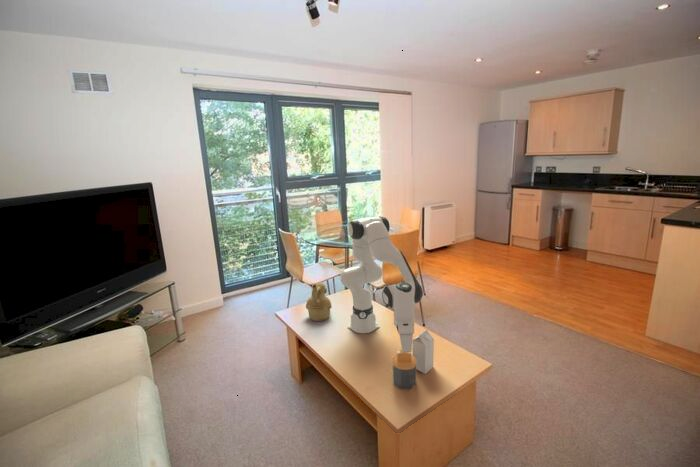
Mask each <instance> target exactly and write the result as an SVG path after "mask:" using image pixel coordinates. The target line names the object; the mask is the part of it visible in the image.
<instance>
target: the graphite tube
mask: <svg viewBox="0 0 700 467" xmlns="http://www.w3.org/2000/svg"><path fill="white" fill-rule="evenodd" d="M392 380H393V385H394V386H395V387H397V388H398V389H400V390H412V388H413V387H415V386H416V385H417V370H416V366H415V367H414V368H413V369H410V370H401V369H398V368H396V367H394V366H393V365H392Z"/></svg>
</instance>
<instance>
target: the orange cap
mask: <svg viewBox="0 0 700 467" xmlns="http://www.w3.org/2000/svg"><path fill="white" fill-rule="evenodd" d="M391 364H392V367H393V366H394V367H396V368H398V369H401V370H410V369H413V368H414V367H415V366H416V365H417V360H416V358H415V357H414V356H413V354H412V351H411V352H403V351H402V349H401V350H396V353H395V354H394V355H392V357H391Z"/></svg>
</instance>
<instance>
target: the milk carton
mask: <svg viewBox="0 0 700 467" xmlns="http://www.w3.org/2000/svg"><path fill="white" fill-rule="evenodd" d="M434 343H435V340H434V337H433V336H432V334H430V332H429V331H428V328H426V329H425V330H423V331H422V332H421V333H420V334H419V333H418V335H417V336H416V337H414V338H413V339H412V355H413V356H414V357H415V358H416V360H417V365H416V371H419V372H421V373H423V374H424V375H425V374H428V372H429V371H431V370H432V369H433V368H434V351H435V350H434V347H435V344H434Z"/></svg>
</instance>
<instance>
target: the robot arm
mask: <svg viewBox="0 0 700 467" xmlns="http://www.w3.org/2000/svg"><path fill="white" fill-rule="evenodd" d="M390 228H391V227H390V222H389V220H388V218H387V217H384V216H368V217H363V218H356V219H352V220H350V222H348V227H347V231H348V232H347V233H348V235H349V237H350V238H351V239H352V257H353V259H354V261H356V262H359V263H360V265H356V266H351V267H348V268H345V269H343V270H341V272H340V276H339V280H340V282H341V284H342V285H343V286H344V287H345V288H347V289H348V290H349V291H350V292H351V296H352V302H353V303H352V304H353V305H352V312H351V313H350V321H349V323H348V325H347V329H349V330H351V331H352V332H355V333H358V334H368V333H372V332H374V331H375V330H376V329H379V328H380V325H379V322H378V321H377V318H376V314H375V312H374V306H373V299H372V298H373V294H372V292H371V290H369V289H367V288H364V285H367V284H371V283H375V282H377V281H379V280H381V279H382V276H383V269H382V267H381V266H380V264H378V263H376V262H375V260H377V261H380V262H382V263H388V264H391V265H393V266H395V267H397V269H398V270H399V272H400V275H401V277H402V278H403V281H402V282H397V283H394V284H389V285H385V286H384V288H383V289H382V292H381V293H382V294H381V298H382V302H383V303H384V304H385V305H386V306H388V307H389V308H390V309H393V325H394V326H395V328H396V330H397V332H398V335H399V341H400V345H401V346H400V347H401V350H402V351H403V352H411V353H412V351H413V339H414V338H413V337H414V336H413V335H414V334H415V310H414V309H415V304H419V302H420V301H422V298H423V296H424V290H423V288H422V285H421V284H420V282H419V281H418V279H417V278H416V277H415V275H414V273H413V270H412V268H411V267H410V265H409V262H408V260H407V259H406V256H405V254H404V253H403V252H402V251H401V250H400V249H398V248H396V246H395V245H394V243H393V242H392V238H391V236H390ZM374 259H375V260H374Z"/></svg>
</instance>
